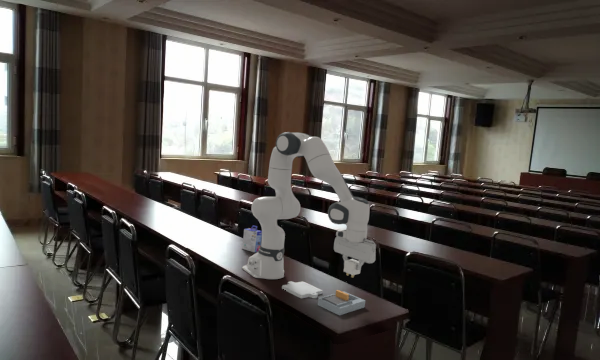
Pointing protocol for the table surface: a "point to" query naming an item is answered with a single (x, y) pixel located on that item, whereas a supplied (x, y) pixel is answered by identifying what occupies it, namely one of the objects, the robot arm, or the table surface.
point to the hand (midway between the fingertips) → (352, 267)
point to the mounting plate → (302, 289)
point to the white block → (351, 267)
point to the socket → (342, 304)
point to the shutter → (338, 298)
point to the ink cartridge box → (252, 239)
